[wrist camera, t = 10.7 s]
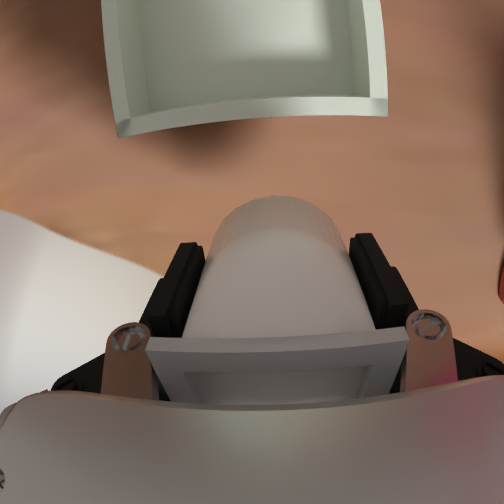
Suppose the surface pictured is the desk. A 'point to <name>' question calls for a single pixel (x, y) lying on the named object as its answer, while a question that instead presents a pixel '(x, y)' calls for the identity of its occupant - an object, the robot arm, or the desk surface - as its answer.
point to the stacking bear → (502, 287)
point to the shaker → (278, 317)
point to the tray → (241, 60)
